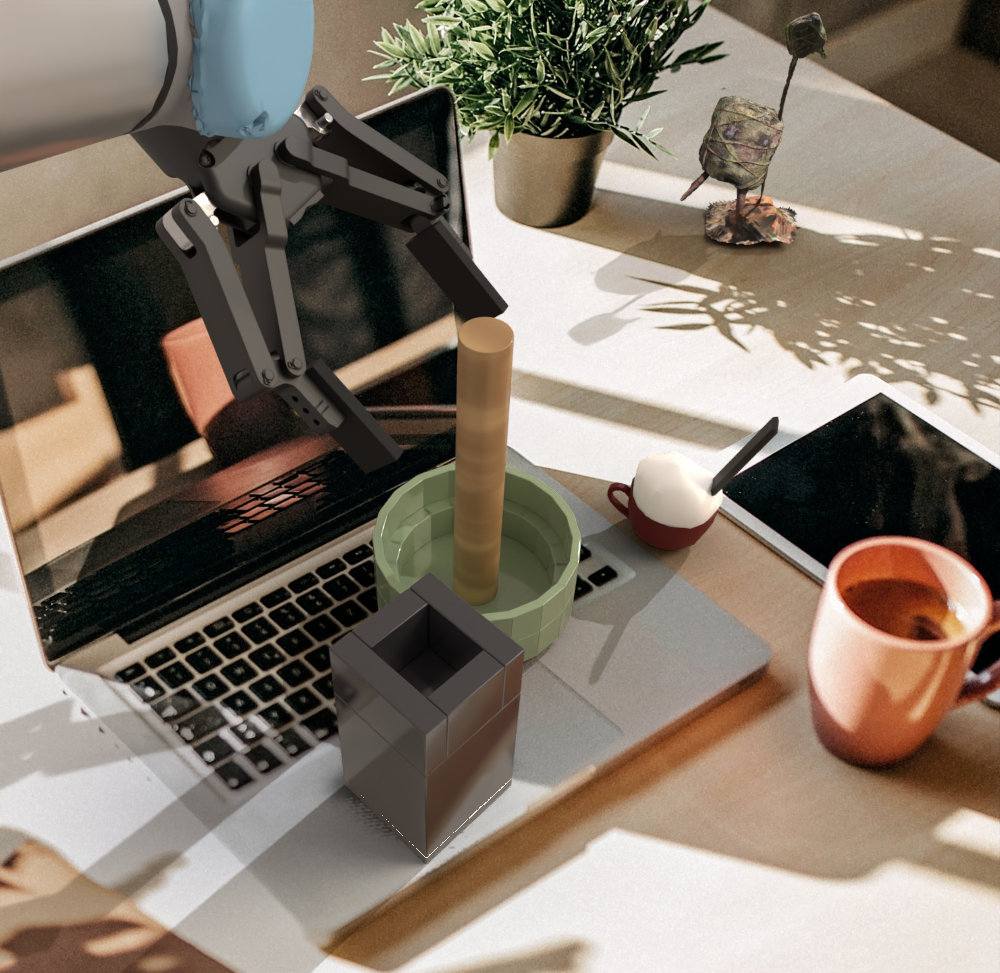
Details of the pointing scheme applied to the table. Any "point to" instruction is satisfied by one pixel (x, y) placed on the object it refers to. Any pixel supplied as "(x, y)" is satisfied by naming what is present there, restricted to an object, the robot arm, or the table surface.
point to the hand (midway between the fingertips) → (441, 385)
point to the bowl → (523, 552)
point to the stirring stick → (480, 455)
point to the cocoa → (680, 494)
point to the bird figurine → (752, 153)
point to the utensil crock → (427, 713)
